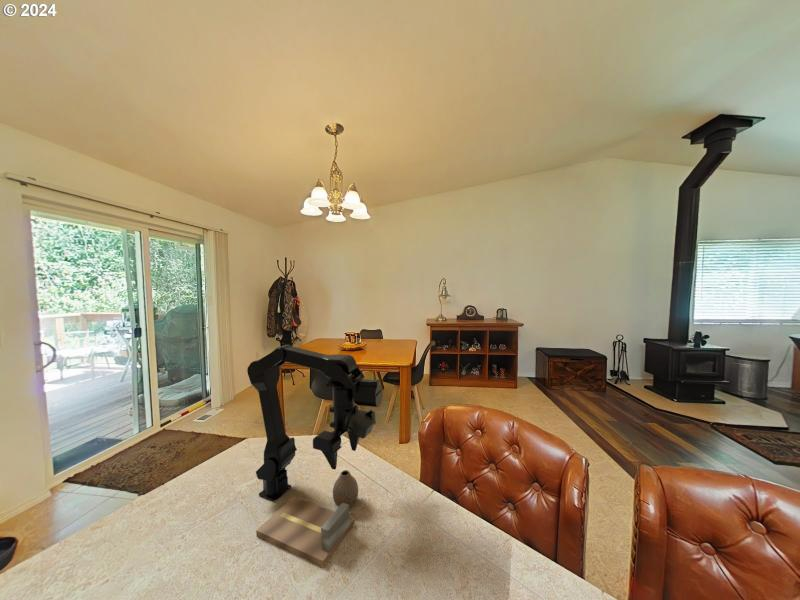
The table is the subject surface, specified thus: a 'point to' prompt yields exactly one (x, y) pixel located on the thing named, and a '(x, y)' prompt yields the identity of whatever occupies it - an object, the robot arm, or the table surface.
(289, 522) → the wooden board with block
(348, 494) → the vase
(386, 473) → the table surface
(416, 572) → the table surface
